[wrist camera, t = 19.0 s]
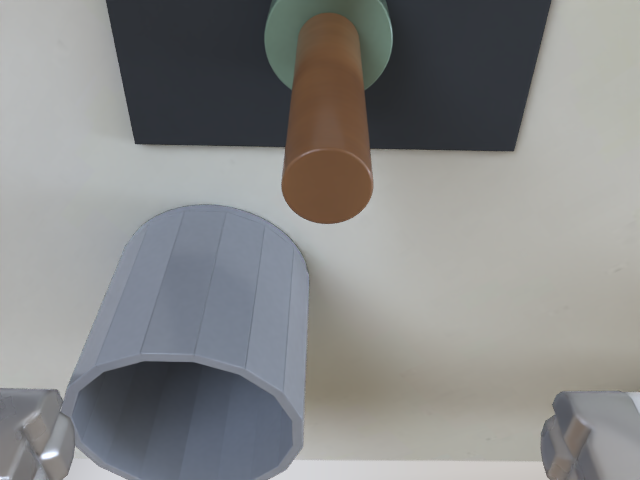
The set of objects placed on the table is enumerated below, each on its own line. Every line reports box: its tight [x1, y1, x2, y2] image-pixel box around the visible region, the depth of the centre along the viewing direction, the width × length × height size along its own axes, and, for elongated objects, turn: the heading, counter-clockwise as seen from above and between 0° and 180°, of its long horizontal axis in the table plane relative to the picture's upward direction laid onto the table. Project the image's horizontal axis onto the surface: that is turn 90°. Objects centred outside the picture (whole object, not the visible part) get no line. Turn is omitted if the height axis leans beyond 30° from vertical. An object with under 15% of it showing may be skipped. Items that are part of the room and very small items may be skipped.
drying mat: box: [106, 0, 551, 151], centre depth 25 cm, size 18×12×1 cm, turn 89°
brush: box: [264, 0, 393, 224], centre depth 20 cm, size 5×5×12 cm
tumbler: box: [61, 205, 309, 480], centre depth 31 cm, size 11×11×10 cm
